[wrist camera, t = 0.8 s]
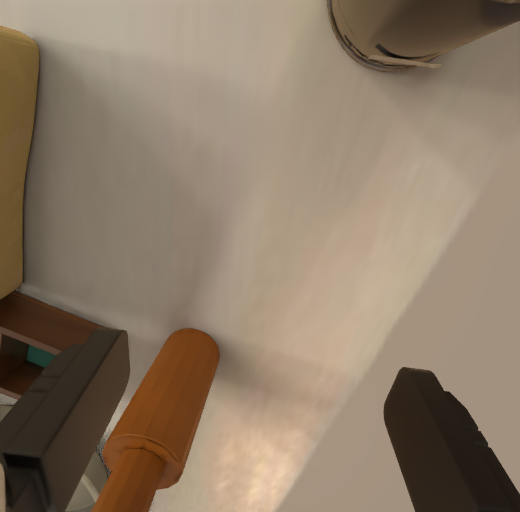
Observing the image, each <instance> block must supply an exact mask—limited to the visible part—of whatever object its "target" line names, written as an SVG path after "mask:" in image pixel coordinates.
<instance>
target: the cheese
mask: <svg viewBox="0 0 520 512" xmlns="http://www.w3.org/2000/svg"><path fill="white" fill-rule="evenodd" d="M38 72H39V49H38V46H37V44H36V43H35V41H34V40H32V39H31V38H29V37H28V36H26V35H25V34H23V33H21V32H19V31H16V30H13V29H9V28H6V27H3V26H0V299H2V298H3V297H5V296H6V295H8V294H10V293H11V292H13V291H14V290H16V289H17V288H19V287H20V286H21V284H22V281H23V238H22V230H23V194H24V182H25V174H26V167H27V161H28V156H29V150H30V145H31V139H32V132H33V124H34V115H35V104H36V94H37V83H38Z"/></svg>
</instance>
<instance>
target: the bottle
mask: <svg viewBox="0 0 520 512" xmlns="http://www.w3.org/2000/svg"><path fill="white" fill-rule="evenodd" d="M219 357H220V353H219V348H218V346H217V344H216V342H215V341H214V340H213V339H212V338H211V337H210V336H209V335H207V334H206V333H204V332H202V331H199V330H195V329H181V330H178V331H176V332H174V333H173V334H171V335H170V336H169V338H168V339H167V340H166V342H165V343H164V345H163V347H162V349H161V350H160V352H159V354H158V355H157V357H156V359H155V360H154V362H153V364H152V365H151V367H150V369H149V371H148V372H147V374H146V376H145V377H144V379H143V381H142V382H141V384H140V386H139V387H138V389H137V391H136V393H135V394H134V396H133V398H132V399H131V401H130V403H129V404H128V406H127V408H126V409H125V411H124V413H123V415H122V416H121V418H120V420H119V421H118V423H117V425H116V426H115V428H114V430H113V431H112V433H111V435H110V437H109V438H108V440H107V442H106V443H105V446H104V449H103V452H102V455H103V458H104V462H105V465H106V466H107V467H108V468H109V470H110V471H111V474H110V476H109V478H108V480H107V482H106V484H105V486H104V487H103V489H102V491H101V493H100V495H99V497H98V499H97V501H96V503H95V505H94V506H93V508H92V510H91V512H148V511H149V508H150V505H151V503H152V500H153V498H154V495H155V492H156V490H158V489H164V488H169V487H170V486H172V485H174V484H175V483H177V482H178V481H179V479H180V477H181V475H182V473H183V470H184V467H185V464H186V461H187V458H188V455H189V452H190V449H191V445H192V442H193V439H194V436H195V433H196V430H197V427H198V424H199V421H200V418H201V415H202V412H203V409H204V406H205V402H206V399H207V396H208V393H209V390H210V387H211V384H212V381H213V378H214V375H215V372H216V369H217V366H218V362H219Z"/></svg>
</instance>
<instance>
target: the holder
mask: <svg viewBox="0 0 520 512" xmlns="http://www.w3.org/2000/svg"><path fill="white" fill-rule="evenodd" d="M98 327H102V326H99V325H97V324H95V323H92V322H90V321H87V320H85V319H82V318H80V317H77V316H75V315H73V314H70V313H68V312H65V311H63V310H60V309H58V308H55V307H53V306H51V305H48V304H46V303H43V302H41V301H38V300H36V299H33V298H31V297H28V296H26V295H24V294H21V293H19V292H16V291H13V292H11V293H10V294H8V295H6V296H5V297H3V298H2V299H0V393H2V394H5V395H7V396H10V397H12V398H15V399H18V400H19V399H20V398H21V396H22V395H23V394H24V393H25V392H26V390H29V388H30V386H31V384H32V383H33V382H34V381H35V380H36V378H37V377H38V376H40V375H41V372H42V371H43V370H44V369H45V367H46V366H47V365H48V364H49V363H50V361H51V360H52V359H53V358H54V357H55V356H56V355H57V354H59V353H60V352H62V351H63V350H65V349H66V348H68V347H69V346H71V345H72V344H74V343H75V344H83V345H84V343H85V342H86V341H87V339H88V338H89V337H90V335H91V334H92V333H93V331H94V330H95V329H96V328H98ZM103 328H104V327H103Z"/></svg>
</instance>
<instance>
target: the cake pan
mask: <svg viewBox="0 0 520 512" xmlns="http://www.w3.org/2000/svg"><path fill="white" fill-rule="evenodd" d="M12 407H13V406H6V405H0V422H1V420H2V419H3V418H4V417H5V416H6V414H7V413H8V412H9V411H10V410H11V408H12ZM106 482H107V472H106V468H105V466H104V463H103V461H102V459H101V458H100V456H99V455H98V453H97V452H96V450H95V452H94V454H93V456H92V458H91V460H90V462H89V464H88V466H87V468H86V470H85V472H84V474H83V476H82V478H81V480H80V482H79V484H78V486H77V488H76V490H75V492H74V494H73V496H72V498H71V500H70V502H69V504H68V506H67V508H66V510H65V512H91V510H92V508H93V506H94V505H95V503H96V501H97V499H98V497H99V495H100V493H101V491H102V489H103V487H104V486H105V484H106Z"/></svg>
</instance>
